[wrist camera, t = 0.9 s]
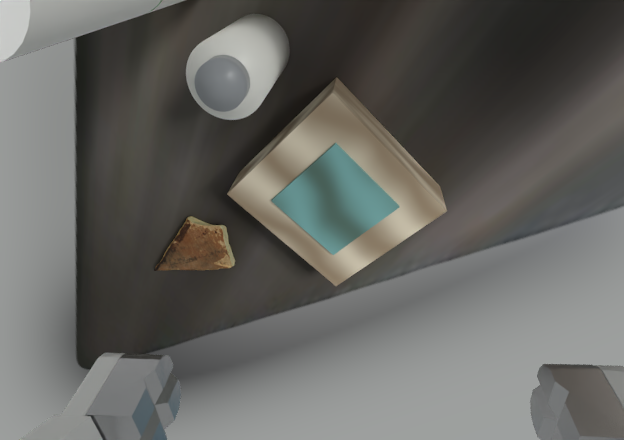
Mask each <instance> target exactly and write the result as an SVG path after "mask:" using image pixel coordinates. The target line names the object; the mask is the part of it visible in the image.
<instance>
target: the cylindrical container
mask: <svg viewBox="0 0 624 440" xmlns="http://www.w3.org/2000/svg"><path fill="white" fill-rule="evenodd" d="M182 1H185V0H0V63H1V62H4V61H7V60H10V59H13V58H16V57H19V56H22V55H25V54H28V53H31V52H34V51H37V50H40V49H43V48H46V47H49V46H52V45H55V44H58V43H61V42H64V41H67V40H70V39H73V38H76V37H79V36H82V35H85V34H88V33H91V32H94V31H96V30H99V29H102V28H105V27H108V26H111V25H114V24H117V23H120V22H123V21H126V20H129V19H132V18H135V17H138V16H141V15H144V14H147V13H150V12H153V11H156V10H159V9H162V8H165V7H168V6H171V5H174V4H176V3H179V2H182Z"/></svg>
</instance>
